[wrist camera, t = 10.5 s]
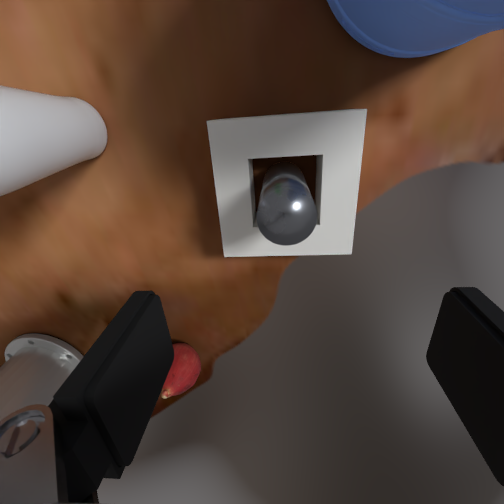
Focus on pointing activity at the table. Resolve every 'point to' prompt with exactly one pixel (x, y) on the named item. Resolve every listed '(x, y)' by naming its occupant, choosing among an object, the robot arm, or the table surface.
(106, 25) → the table surface
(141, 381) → the robot arm
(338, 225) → the socket block
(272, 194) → the metal peg
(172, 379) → the onion
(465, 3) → the water jug
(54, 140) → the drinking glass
